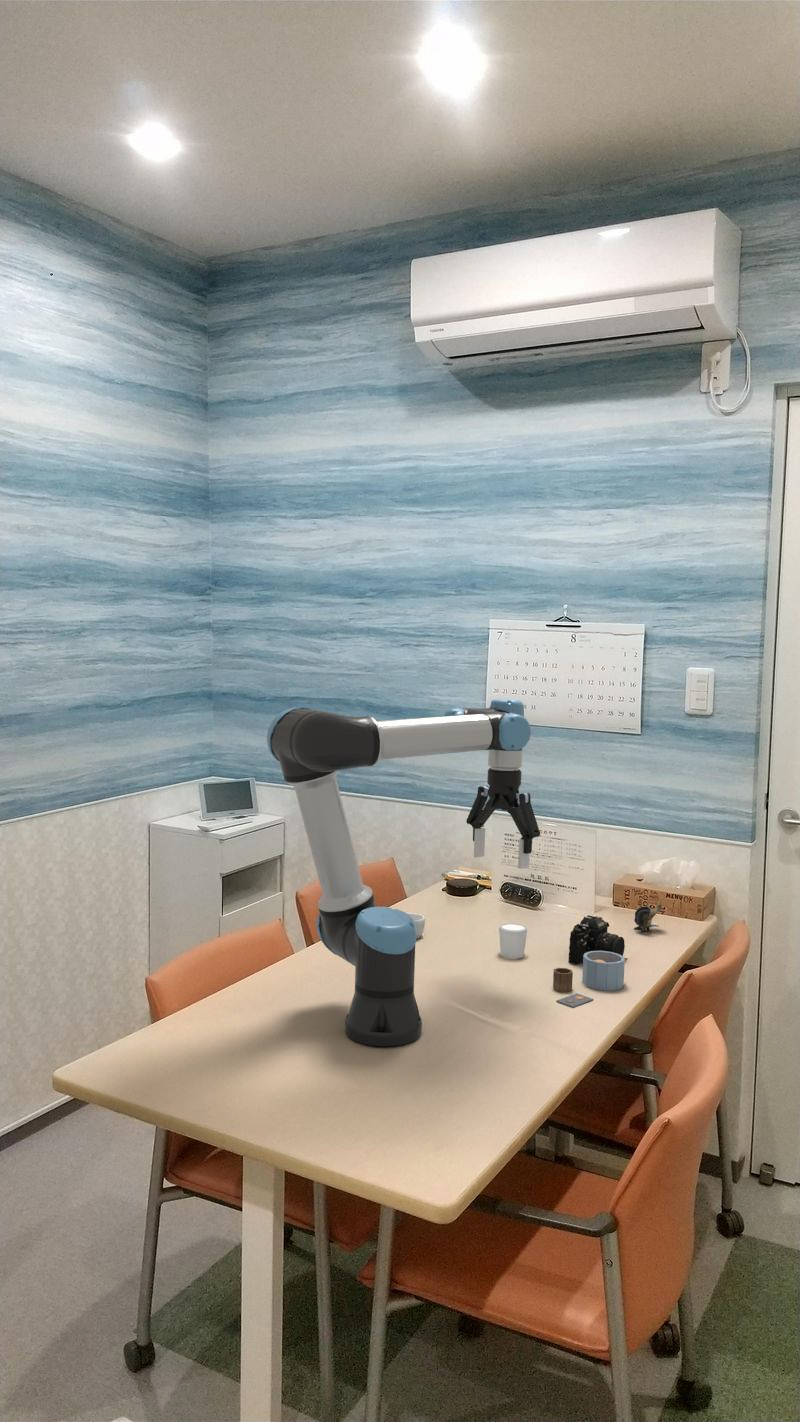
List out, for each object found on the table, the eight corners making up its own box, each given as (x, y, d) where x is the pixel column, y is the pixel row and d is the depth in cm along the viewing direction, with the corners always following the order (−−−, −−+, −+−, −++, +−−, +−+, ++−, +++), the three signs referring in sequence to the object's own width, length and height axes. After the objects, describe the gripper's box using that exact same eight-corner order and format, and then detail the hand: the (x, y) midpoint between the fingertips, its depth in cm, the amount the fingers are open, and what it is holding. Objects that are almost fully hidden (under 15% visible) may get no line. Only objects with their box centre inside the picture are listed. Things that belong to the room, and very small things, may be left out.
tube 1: (563, 993, 214) (564, 975, 214) (549, 988, 217) (550, 970, 217) (575, 989, 217) (576, 971, 216) (561, 984, 220) (561, 966, 219)
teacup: (405, 931, 257) (405, 911, 257) (430, 936, 253) (430, 916, 253) (383, 940, 249) (383, 919, 249) (408, 946, 245) (409, 924, 244)
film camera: (619, 973, 228) (621, 931, 227) (566, 967, 232) (567, 925, 231) (627, 951, 245) (628, 912, 244) (577, 945, 249) (578, 907, 248)
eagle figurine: (653, 942, 253) (655, 908, 252) (627, 937, 257) (628, 903, 256) (663, 936, 259) (665, 902, 258) (637, 931, 263) (639, 897, 263)
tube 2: (607, 993, 215) (608, 966, 214) (574, 982, 221) (575, 955, 221) (631, 984, 221) (632, 958, 220) (598, 974, 227) (599, 948, 227)
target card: (572, 1007, 205) (573, 1005, 205) (556, 1001, 209) (556, 1000, 209) (593, 1000, 210) (593, 998, 210) (576, 994, 213) (576, 992, 213)
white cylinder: (527, 960, 236) (529, 931, 235) (499, 959, 236) (500, 930, 236) (524, 951, 243) (525, 923, 242) (496, 950, 243) (497, 922, 242)
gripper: (559, 773, 214) (554, 870, 215) (476, 761, 233) (472, 850, 234) (536, 775, 209) (531, 874, 210) (453, 762, 228) (450, 853, 229)
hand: (500, 862), depth 222 cm, fingers open, 13 cm apart
